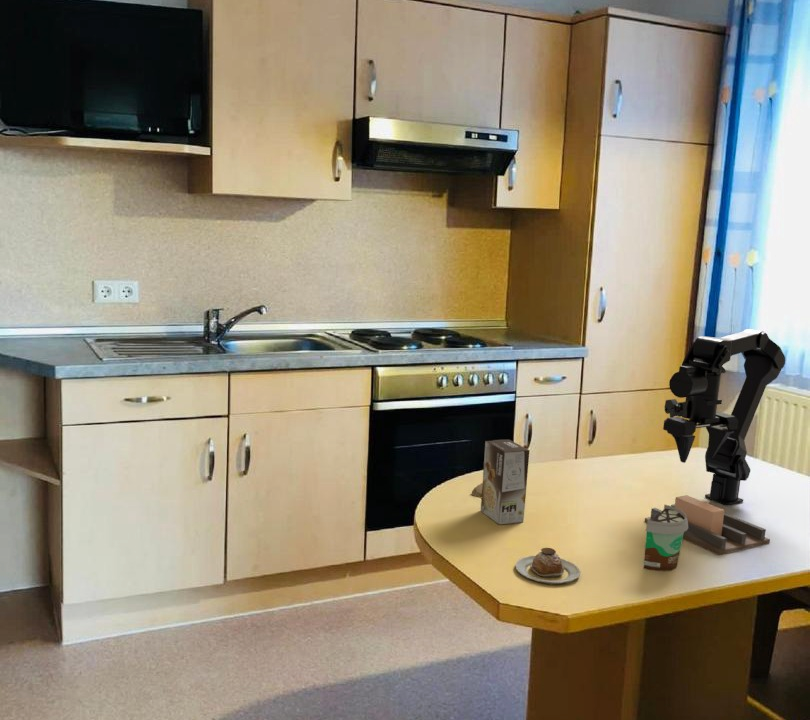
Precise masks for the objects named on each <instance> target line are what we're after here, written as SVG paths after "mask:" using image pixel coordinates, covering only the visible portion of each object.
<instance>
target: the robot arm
mask: <svg viewBox="0 0 810 720" xmlns="http://www.w3.org/2000/svg"><path fill="white" fill-rule="evenodd" d="M689 347H690V348H689V349H688V351H687V354H686V356H685V357H684V359H683V361H682V363H681V365H680V366H679V369H678V371H676V372H675V373H673V375H671V378H670V379H669V384H668V385H669V389H670V392H671V393H672V394H673V395H674V397H677V398H680V399H681V398H682V399H684V398H685V401H682V402H678V401H677V398H676V399H675V398H674V399H673V398H672V399H666V400H665V403H664V412H665V414H667V415H669V417H666V418H665V419H664V420H663V427H662V431H663V430H664V431H666V432H667V433H668V435H671V436H672V438H673V439H674V441H675V445H676V446H677V447H676V448H677V452H678V457H679V461H680V462H681V463H683V464H685V463H686V462H687V460H688V458H689V455H690V453H691V450H692V447H693V444H694V442H695V439H696V435H694V433H695V432H696V431H697V429H700V428H701V429H702V428H705V429H706V431H707V433H708V444H707V447H706V451H705V455H704V459H705V460H704V461H705V471H706V472H708V473H712V480H711V484H710V493H706V494H704V497H705V498H707V499H710V500H712V501H715V502H718V503H720V504H722V505H725V506H728V505H732V504H738V503H743V502H744V499H743V498H740V497H739V493H740V485H741V481H744V482H746V481H747V480H748V479H749V477H750V473H751V468H750V465H749V464H748V462H747V460H746V456H747V453H748V452H747V447H746V443H745V439H746V437H747V434H748V432H749V430H750V427H751V424H752V422H753V419H754V417H755V414H756V412H757V409H758V408H759V405H760V403H761V400H762V397H763V394H764V393H765V390H766V387H767V386H768V385H769V384H771V383H772V382H774V381H775V380H777V378H778V377H779V375H780V373H781V371H782V370H783V368H785V364H786V356H785V354H784V352H783V350H782V348H781V347H780V346H779V345H778V344H777V343H776V342H775V341H774V340H772V339H771V338H770V337H769V336H768V334H767V333H766V332H765V331H762V330H757V329H756V330H755V329H752V328H748V329H747V328H746V329H743V331H741V332H737V333H732V334H728V335H724V336H721V337H713V336H705V335H704V336H702V335H699V336H697V337H696V338H695V339H694V341H693V342H692V343H691V346H689ZM738 354H741V355H742V357H743V359H744V362H743V368H744V372H745V379H744V381H743V384H742V386H741V389H740V392H739V394H738V396H737V400H736V401H735V404H734V407H733V409H732V410H731V414H728V413H725V412H721V411H718V412H717V409H718V408H717V407H718V405H722V401H723V399H721V398H719V392H720V385H721V378H722V377H721V376H722V374H725V373H726V372H727V371H726V369H725V368H724V367H723V365H725V364H727V363H729V362H730V361H731V357H732V356H735V355H738Z"/></svg>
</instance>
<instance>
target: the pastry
mask: <svg viewBox="0 0 810 720" xmlns="http://www.w3.org/2000/svg"><path fill="white" fill-rule="evenodd" d="M514 566H515V569H516V571H517V573H519V574H520V575H522V576H523V577H525V578H527V579H530V580H531V581H534V582H537V583H542V584H544V585H550V586H552V585H558V584H568V583H569V584H570V583H572V582H574V581H575V580H577V579H578V578H579V577H580V576H581V570H580V568H579V567H578V566H577V565H576V564H575V563H573V562H571V561H569V560H566V559H564V558H561V557H560V556H559V554H558V553H556V550H555V549H554V548H552V547H543V548H541V549H540V551H539V552H538V553H537V554H536V555H529V556H525V557H524V556H523V557H522V558H519V559H518V560H517V561H516V562H515V565H514ZM528 567H530V569H531V570H532V571H533V572H534V573H536V575H538V576H539V577H542V578H555V577H560V576H561V575H564V573H565V572H566V573H567V574H568V575H567V577H566V578H563V579H560V580H559V579H557V580H552V579H542V578H539V577H535V576H533V575H531V574H529V573H528V571H527V568H528Z"/></svg>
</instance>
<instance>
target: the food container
mask: <svg viewBox="0 0 810 720" xmlns="http://www.w3.org/2000/svg"><path fill="white" fill-rule="evenodd" d="M645 526H646V527H645V532H646V533H645V535H646V536H645V545H644V546H645V547H644V557H643V558H644V559H643V569H645V570H648V571H654V572H655V571H656V572H668V571H672V570H675V569H676V568H677V567H678V562H679V559H680V554H681V547H682V542H683V540H684V539H683V534H684V532H685V531H686V530H687V529H688V519H687V517H686V514H685V513H684V512H683V511H681V510H679V509H677V508H675V507H672V506H671V505H668V504H664V506H663V509H662V512H661V513H659V514H657V515H656V517H655V518H654V519H653V520H652V521H650V520H648V521H647V522H646V525H645Z"/></svg>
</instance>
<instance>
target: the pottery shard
mask: <svg viewBox="0 0 810 720" xmlns="http://www.w3.org/2000/svg"><path fill="white" fill-rule="evenodd" d="M482 484H483V482H482V483H480V484H477V486H475V487H474V488H473V490H472V491H471V494H472V495H473V496H474V497H478V498H480V499H481V498H482Z"/></svg>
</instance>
